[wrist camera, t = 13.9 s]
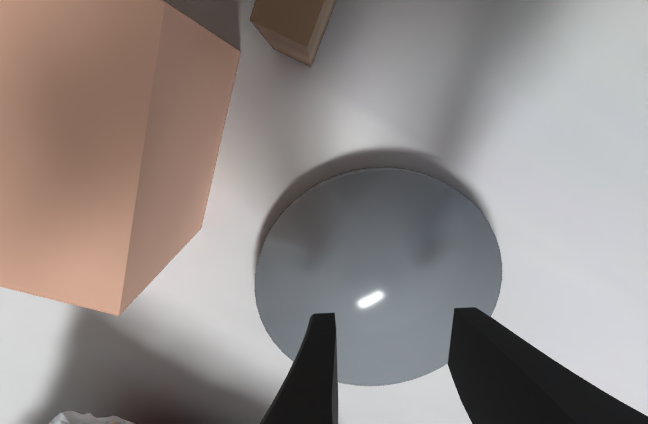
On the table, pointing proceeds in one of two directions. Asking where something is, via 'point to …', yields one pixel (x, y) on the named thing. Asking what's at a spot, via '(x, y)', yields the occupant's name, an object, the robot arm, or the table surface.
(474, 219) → the coaster
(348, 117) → the table surface
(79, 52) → the block
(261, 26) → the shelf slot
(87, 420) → the packaged food
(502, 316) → the table surface
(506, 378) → the robot arm
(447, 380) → the table surface
